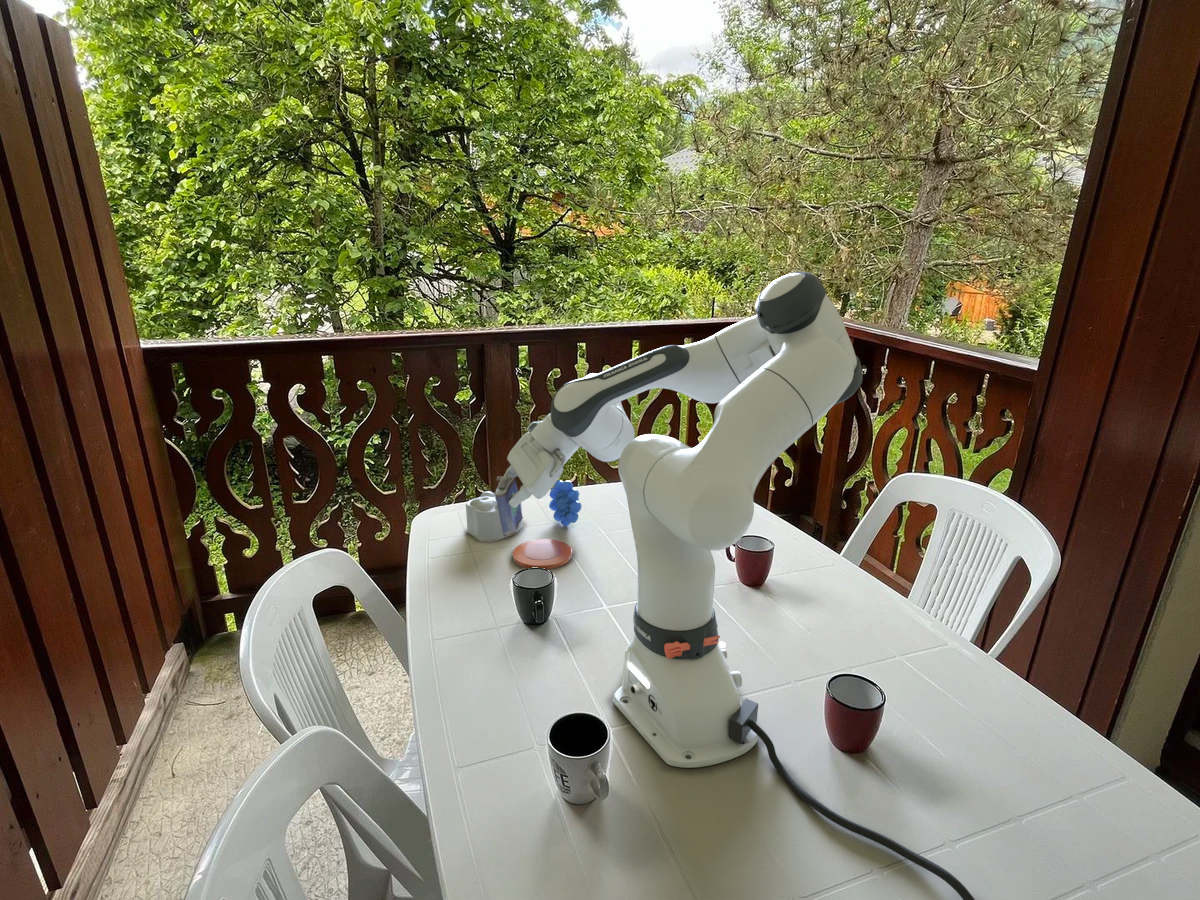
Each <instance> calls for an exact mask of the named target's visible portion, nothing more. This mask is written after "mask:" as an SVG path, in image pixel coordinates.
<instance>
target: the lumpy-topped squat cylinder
mask: <svg viewBox="0 0 1200 900" xmlns="http://www.w3.org/2000/svg"><path fill="white" fill-rule="evenodd" d="M520 506H521V512H523V511H522V509H523V508H522V502H521V503H520ZM465 513H466V516H465V517H466V530H467V533H468V534H469V535H471V536H473V537H474V538H476V540H478V541H480V542H486V543H487V542H494V541H498V540H501V539H505V538H507V537H506V536H504V535H503V530H502V525H501V520H500V515H499V511H498V506H497V501H496V497H495V492H492V491H489V490H488V491H487V490H486V491H483V492H482V493H481V494H480V496H479V497H475V498H472V499H469V500H468V501H467V502H466V503H465ZM518 525H519V527H518V529H517V530H516V533H515V534H516V535H517V534H518V532H519V531H521V530H522V528H523V519H522V520H521V521H520V524H518ZM515 534H513V536H514V535H515ZM505 535H506V534H505ZM507 536H508V535H507ZM508 537H509V536H508Z"/></svg>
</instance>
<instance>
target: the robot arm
mask: <svg viewBox="0 0 1200 900" xmlns="http://www.w3.org/2000/svg"><path fill="white" fill-rule="evenodd" d="M754 306H755V307H754V308H755V313H756V315H753V316H751V317H748V318H745V319H743V320H741V321H738V322H736V323H734V324H732V325H730V326H727V327H725V328H723V329H721V330H720V331H718V332H716V333H715V334H713V335H711V336H709V337H707V338H705V339H702V340H700V341H697V342H696V341H695V342H693V343H689V344H683V345H678V344H669V345H665V346H661V347H659V348H656V349H652V350H651V351H648V352H645V353H643V354H641V355H639V356H636V357H634V358H631V359H629V360H626V361H624V362H622V363H620V364H617V365H615V366H612V367H611V368H608V369H605V370H604V371H601V372H599V373H594V372H592V373H589V374H587V375H586V376H583V377H582V378H578V379H574V380H571V381H569V382H566V383H565V384H563V385H562V386H560V387H559V388H558V390H556V392H555V394H554V395H553V398H552V400H551V404H550V413H548V414H547V415H546V416H544V418H543V419H542V420H540V421H532V422H531V423H530V424H529V425H528V426H527V428H526V431H527V432H525V433H524V434H523V435H522V436H521V437H520V438H519V439H518V441H517V442H516V443H515V445H514V446H513V447H512V448H511V449H510V451H509V453H508V454H507V457H506V460H507V462H508V463H509V467H508V468H507V469H506V470H505V473H504V475H503V477H504V478H506V477H514V478H515V479H516V478H517V477H518V478H519V480H520V482H521V484H522V485H520V487H519V490H518V492H517V493H516V494H512V495H511V496H510V498H509V499H508V503H509V505H511V506H512V507H513V508H516V507H517V506H518V505H519V504H520V503H521V504H522V502H524V501H526V500H528V499H530V498H531V496H534V498H535V499H538V500H540V499H543V498H544V497H545V496H546V495H547V494H548V493H550V491H551V490H552V489H553V488H554V486H555V483H556V482H557V481H559V479H560V478H561V476H562V474H563V472H564V466H565V464H566V463H567V462H568V461H569V460H570V459H571V457H572V456H573V455H574V454H575V453H576V452H577V451H578V450H579V448H582V449H583V450H585V451H586V452H587V453H588V454H590V455H591V456H592V457H593V458H595V459H596V460H599V461H601V462H603V463H613V462H616V461H617V462H618V464H617V468H618V475H619V478H620V481H621V483H622V487H623V489H624V492H625V496H626V501H627V506H628V507H627V508H628V512H629V513H628V514H629V518H630V525H631V530H632V535H633V540H634V546H635V552H636V560H637V564H636V565H637V601H636V603H635V605H634V611H633V615H632V616H633V617H632V621H633V633H634V635H633V637H632V639H631V640H630V643H629V644H628V645H627V647H626V650H625V652H624V660H623V667H622V668H623V669H622V679H621V686H620V687H618V689H617V690H616V691H615V692H614V694H613V700H612V701H613V704H614V705H615V706H616V707H617V709H618V710H619V711H620V712H621V713H622V715H623V716H624V717H625V718H626V719H627V721H629V723H630V724H631V725H632V726H633V727H634V729H635V730H636V731H637V732H638V733H639V734H640V735H641V736H642V737H643V739H644V740H645V741H646V742H647V744H649V746H650V747H651V748H652V749H653V750H654V752H656V754H657V755H658V756H659V757H660V758H661V760H663V762H665V764H667V765H668V766H670V767H671V766H672V767H676V768H687V769H688V768H690V769H692V768H694V769H695V768H703V767H709V766H713V765H717V764H721V763H724V762H727V761H731V760H733V759H735V758H738V757H741V756H743V755H744V754H746V753H747V752H749V751H750V750H751V749H753V747H754V746H755V745H756V744H757V742H758V737H759V738H760V740H761V741H762V742H763V744H764V746H765V747H766V750H767V754H768V757H769V760H770V762H771V764H772V766H773V767H774V768H775V770H776V772H777V773H778V774H779V776H780V777H781V779H782V780H783V781H784V782H785V783H786V784H787V786H788V787H789V788H790V789H791V790H792V792H793V793H795V794H796V795H797V797H799V798H800V799H801V800H802V801H804V802H805V803H806V804H807V805H809V806H810V807H812V809H814V810H816V811H817V813H819V814H821V815H822V816H824V817H825V818H826V819H828V820H830V821H831V822H833V823H835V824H836V825H838V826H840V827H842V828H843V829H846V830H848V831H850V832H852V833H855V834H857V835H860V836H861V837H864V838H866V839H868V840H871V841H873V842H876V843H878V844H880V845H881V846H883V847H886V848H888V849H889V850H891V851H893V852H894V853H896V854H898V855H900V856H901V857H903V858H905V859H906V860H908V861H910V862H912V863H913V864H915V865H917V866H919V867H921V868H923V869H925V870H926V871H928V872H930V873H932V874H933V875H935V876H937V877H938V878H940V879H941V880H942V881H944V882H945V883H946V884H948V885H949V886H950V887H951V888H952V889H953V890H954V891H955V892H956V893H957V894H958V896H960V898H961V899H962V900H976V899H975V897H974V896H973V895H972V894H971V892H970V891H969V890H968V888H966V886H965V885H964V884H963V883H962V882H961V881H960V880H959V879H958V878H957V877H956V876H954V875H953V874H952V873H951V872H949V871H948V870H946V869H945V868H944V867H942V866H940V865H939V864H937V863H935V862H933V861H932V860H930V859H928V858H926V857H924V856H922V855H920V854H918V853H916V852H915V851H913V850H911V849H909V848H908V847H905V846H904V845H903V844H900V843H899V842H897V841H895V840H893V839H891V838H890V837H888V836H886V835H883V834H881V833H880V832H877V831H875V830H872V829H870V828H868V827H866V826H863V825H862V824H860V823H856V822H854V821H852V820H849V819H847V818H846V817H844V816H841V815H840V814H838V813H836V812H835V811H833V810H831V809H830V808H829V807H827V806H826V805H824V804H823V803H822V802H820V801H818V800H817V799H816V798H815V797H813V795H811V794H810V793H808V792H807V791H806V790H805V789H803V788H802V787H801V786H800V785H799V784H798V783H797V781H795V780H794V779H793V777H792V776H791V775H790V773H789V772H788V771H787V770H786V768H785V767H784V766H783V763H782V762H781V761H780V759H779V758H778V756H777V752H776V748H775V745H774V743H773V741H772V740H771V738H770V736H769V735H768V734H767V733H766V732H765V730H763V729H762V727H760V726H759V724H758V723H757V721H758V712H759V703H758V702H756V701H753V700H751V699H748V698H745V699H744V700H743V702H742V701H741V695H740V693H739V691H738V689H740V688H742V686H743V679H742V676H741V675H742V674H741V673H740V671H738V670H735V671H731V669H730V667H729V664H728V662H727V660H726V659H728V652H727V649H725V648H726V642H724V641H719V639H721V636H720V635H719V631H718V630H719V629H718V627H719V626H718V620H717V617H716V616H717V615H716V611H715V608H714V599H715V598H714V597H715V596H714V595H715V580H716V579H715V578H716V564H715V559H714V556H713V554H712V551H713V552H715V551H722V550H725V549H727V548H730V547H732V546H733V545H735V544H736V543H737V542H739V540H741V539H742V538H743V536H744V535H745V534H746V533H747V531H748V529H749V528H750V526H751V524H752V520H753V517H754V511H755V504H754V496H755V492H756V489H757V487H758V485H759V483H760V481H761V479H762V478H763V476H764V474H765V473H766V472H767V470H768V469H769V468H770V466H771V465H772V464H773V463H774V462H775V461H776V460H777V459H778V457H780V456H781V455H782V454H783V453H784V452H785V451H786V450H788V448H790V447H791V446H792V445H793V444H794V443H795V442H796V441H797V440H799V439H800V438H801V437H802V436H803V435H805V433H806V432H807V431H809V430H810V429H811V428H812V427H813V426H815V424H817V423H818V422H819V421H820V420H821V419H822V418H824V416H825V415H826V414H827V413H828V412H829V411H830V410H831V409H832V408H833V407H834V406H836V405H839V404H841V403H843V402H845V401H847V400H848V399H850V398H851V397H852V396H853V395H854V394H855V393H856V392H857V391H858V389H859V388H860V387H861V385H862V383H863V378H864V377H863V369H862V365H861V360H860V358H859V357H858V356H857V355H856V353H855V349H854V346H853V343H852V341H851V339H850V336H849V333H848V331H847V329H846V325H845V322H844V320H843V318H842V317H841V314H840V313H839V312H838V310H837V308H836V306H835V305H834V303H833V302H832V300H831V298H830V297H829V296H828V294H827V289H826V287H825V285H823V283H822V282H821V281H820V280H819V278H818V277H817V276H816V275H815V274H813V273H812V272H808V271H794V272H791V273H787V274H785V275H782V276H780V277H779V278H777V279H775V280H773V281H772V282H771V283H770V284H768V285H767V286H766V287H764V288H763V289H762V291H760V293H759V294H758V296H757V299H756V301H755V305H754ZM652 389H653V390H654V389H665V390H670V391H674V392H677V393H680V394H681V395H685V396H687V397H689V398H691V399H693V400H695V401H698V402H701V403H706V404H717V405H716V406H715V408H714V413H713V417H714V422H713V424H712V426H711V428H710V430H709V432H708V433H707V434H706V435H705V437H704V438H703V439H702V440H701V441H700V442H699V443H698V444H697V445H696V446H694V447H691V446H689V445H688V444H685V443H684V442H682V441H680V440H678V439H677V438H675V437H671V436H668V435H667V436H666V435H662V434H654V433H653V434H652V433H647V434H646V433H645V434H642V435H639V436H637V437H636V430H635V427H634V425H633V424H632V423H631V420H630V419H629V417H628V416H627V414H626V411H625V410H624V407H623V404H622V402H623V401H624V400H627V399H629V398H632V397H634V396H636V395H638V394H641V393H644V392H645V391H649V390H652ZM499 483H500V481H499V482H498V484H499ZM722 648H724V649H722Z"/></svg>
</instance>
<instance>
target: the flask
mask: <svg viewBox="0 0 1200 900" xmlns="http://www.w3.org/2000/svg"><path fill="white" fill-rule="evenodd" d="M496 481H499V482H500V483H499V482H498V485H497V487H496V489H495V492H494V493H495V497H496V501H497V506H498V511H499V515H500V520H501V525H502V530H503V535H504V536H506V537H505V538H508V537H513V536H514V535H515V533H516V530H517V529H518V527H519V525H518V524H520V521H521V520H522V521H523V519H524V517H523V513H522V512H523V511H522V512H521V506H522V505H521V506H520V504H519V505H518V506H517V507H516V508H513V507H512V506H511V505H509V503H508V499H509V498H510V496H511V495H512V494H516V493H517V492H518V491H519V490H518V486H517V479H516V477H515V478H514V477H506V478H504V475H503V476H500V475H499V476H497V477H496ZM505 534H506V535H505ZM513 534H514V535H513ZM516 534H517V533H516ZM507 535H508V536H507Z"/></svg>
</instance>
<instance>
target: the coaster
mask: <svg viewBox="0 0 1200 900" xmlns="http://www.w3.org/2000/svg"><path fill="white" fill-rule="evenodd" d="M572 557H573V549H572V548H571V546H570V545H569V544H568V543H566V542H565V541H562V540H559V539H553V538H537V539H531V540H527V541H525V542H521V543H520V544H519V545H517V546H516V547H515V548H514V549H513V550H512V561H514V563H515V564H516V565H518V566H519V567H522V568H524V569H528V568H532V567H538V568H545V569H546V570H552V569H556V568H559V567H562V566H564V565H566V564H567V563H568V562H570V560H571V559H572Z"/></svg>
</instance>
